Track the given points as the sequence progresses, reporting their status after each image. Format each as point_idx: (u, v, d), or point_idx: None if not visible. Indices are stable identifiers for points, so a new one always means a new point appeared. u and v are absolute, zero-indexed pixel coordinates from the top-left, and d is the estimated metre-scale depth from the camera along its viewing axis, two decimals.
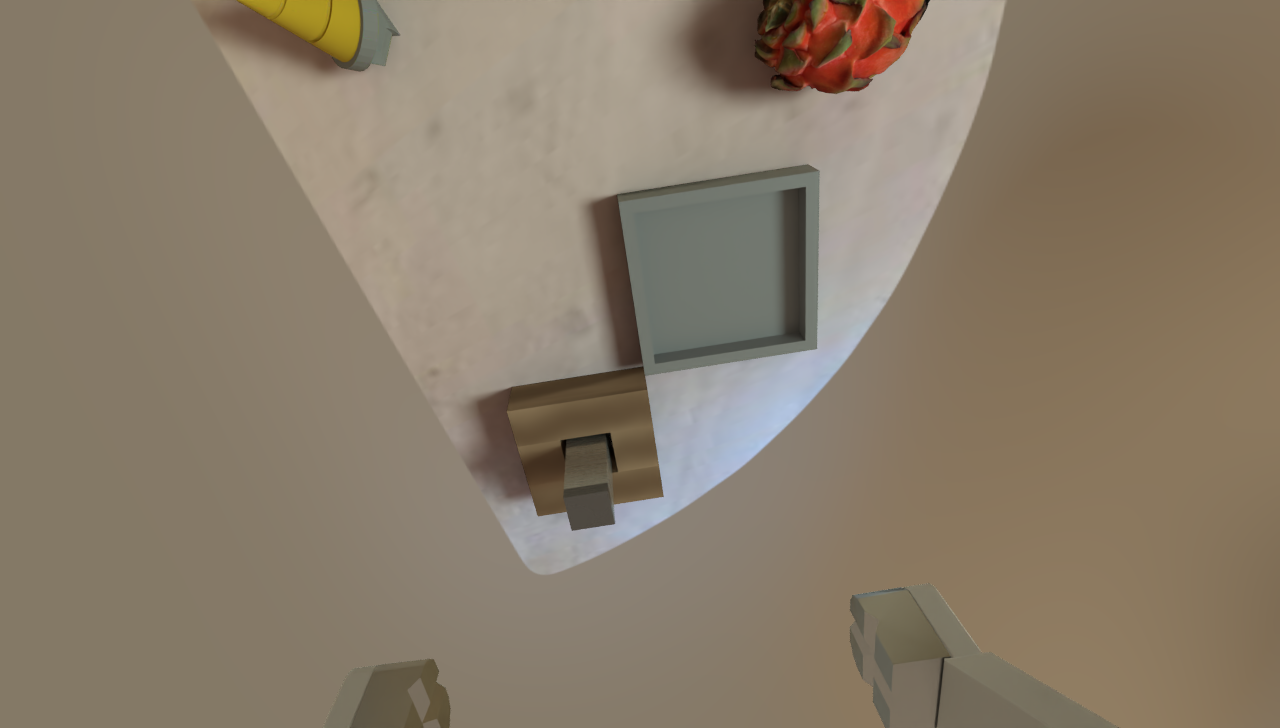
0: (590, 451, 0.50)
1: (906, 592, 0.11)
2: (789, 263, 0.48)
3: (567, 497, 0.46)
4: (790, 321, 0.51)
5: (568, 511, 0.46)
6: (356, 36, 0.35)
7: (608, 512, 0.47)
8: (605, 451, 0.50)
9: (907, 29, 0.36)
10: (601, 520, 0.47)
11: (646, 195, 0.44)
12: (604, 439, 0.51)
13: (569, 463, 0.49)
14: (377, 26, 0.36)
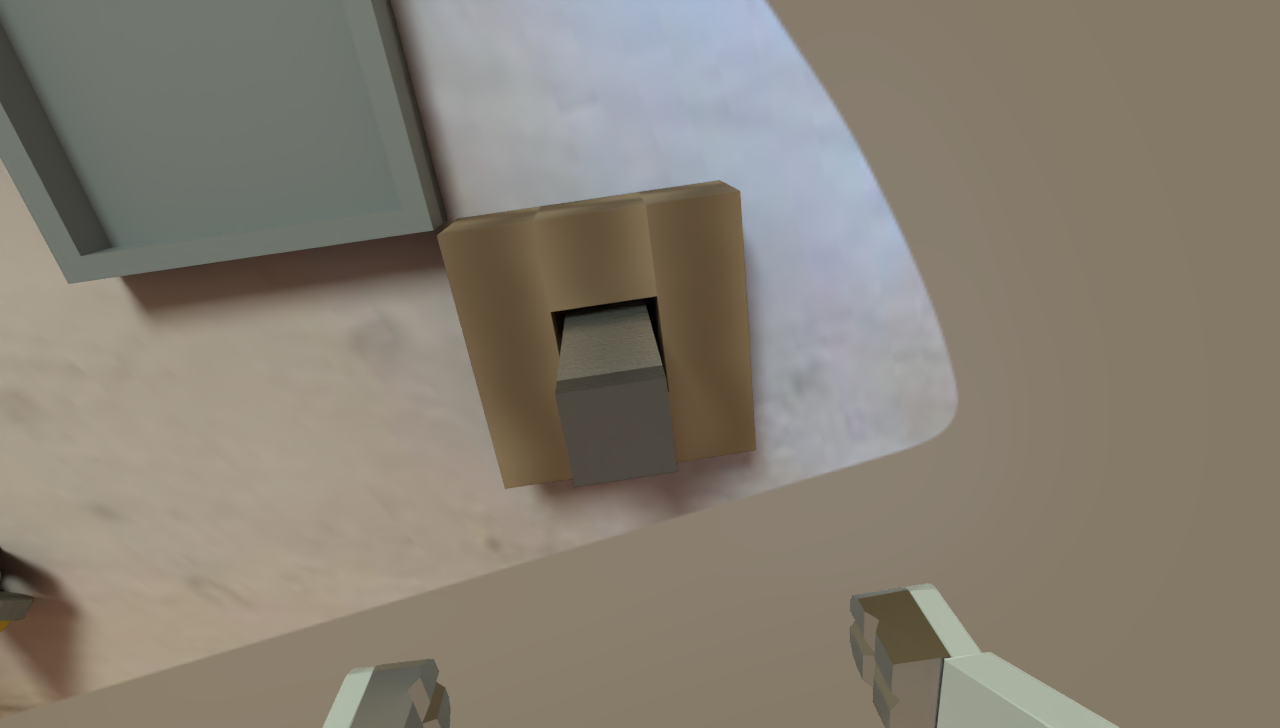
0: None
1: (906, 592, 0.11)
2: None
3: (574, 478, 0.20)
4: None
5: (616, 477, 0.20)
6: None
7: (625, 393, 0.18)
8: (564, 338, 0.23)
9: None
10: (651, 408, 0.19)
11: None
12: (564, 325, 0.24)
13: None
14: None
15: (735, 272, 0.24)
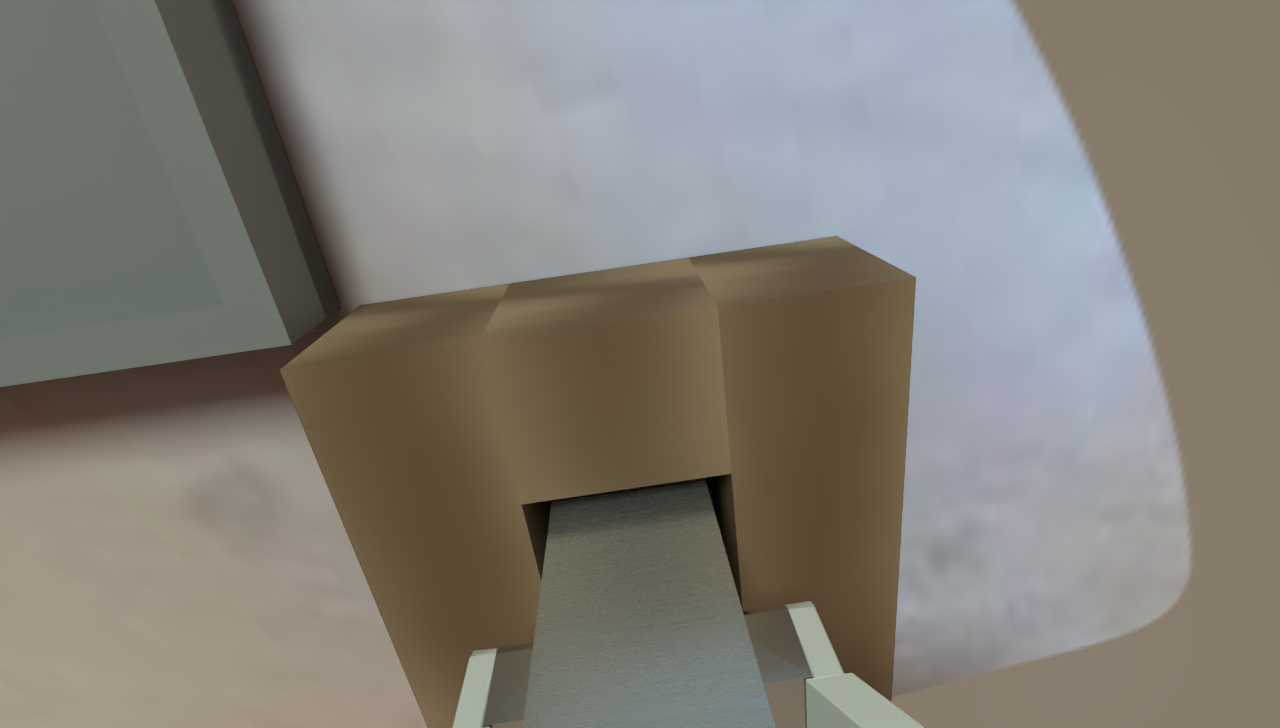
0: None
1: (784, 610, 0.11)
2: None
3: None
4: None
5: None
6: None
7: None
8: (544, 587, 0.11)
9: None
10: None
11: None
12: None
13: None
14: None
15: (888, 430, 0.12)
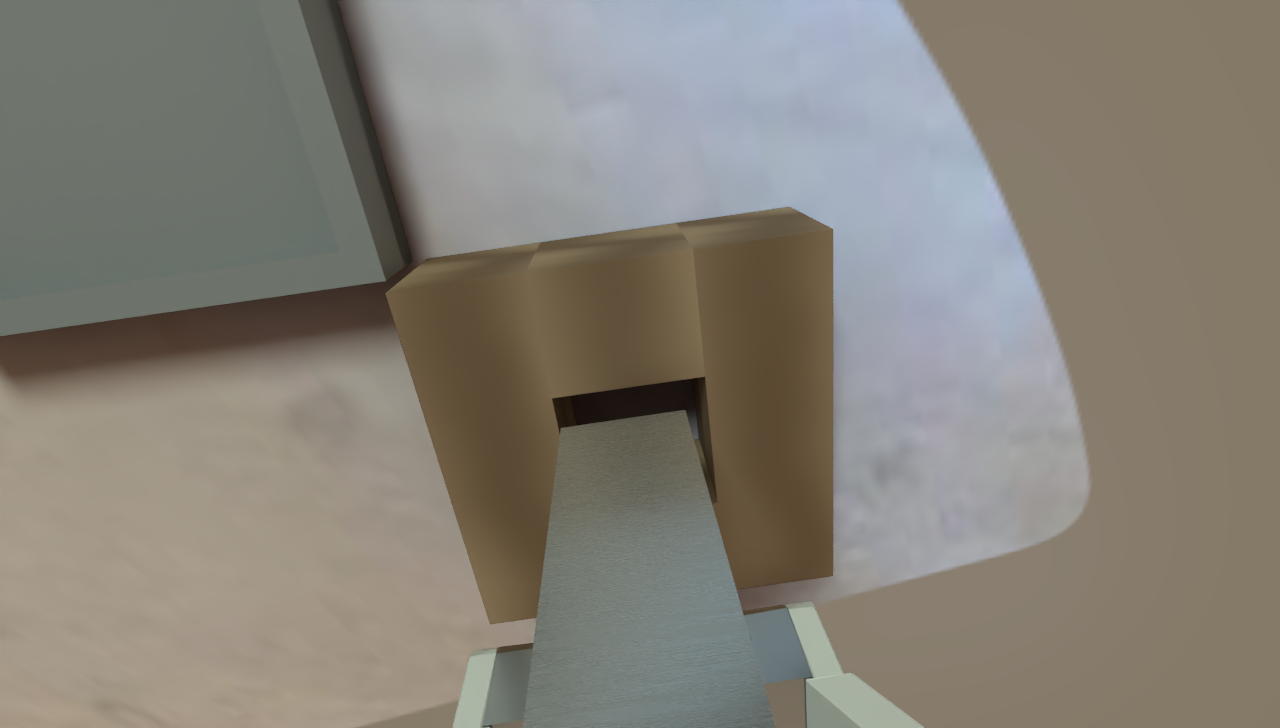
0: None
1: (784, 610, 0.11)
2: None
3: None
4: None
5: None
6: None
7: None
8: (544, 587, 0.11)
9: None
10: None
11: None
12: None
13: None
14: None
15: (819, 344, 0.17)
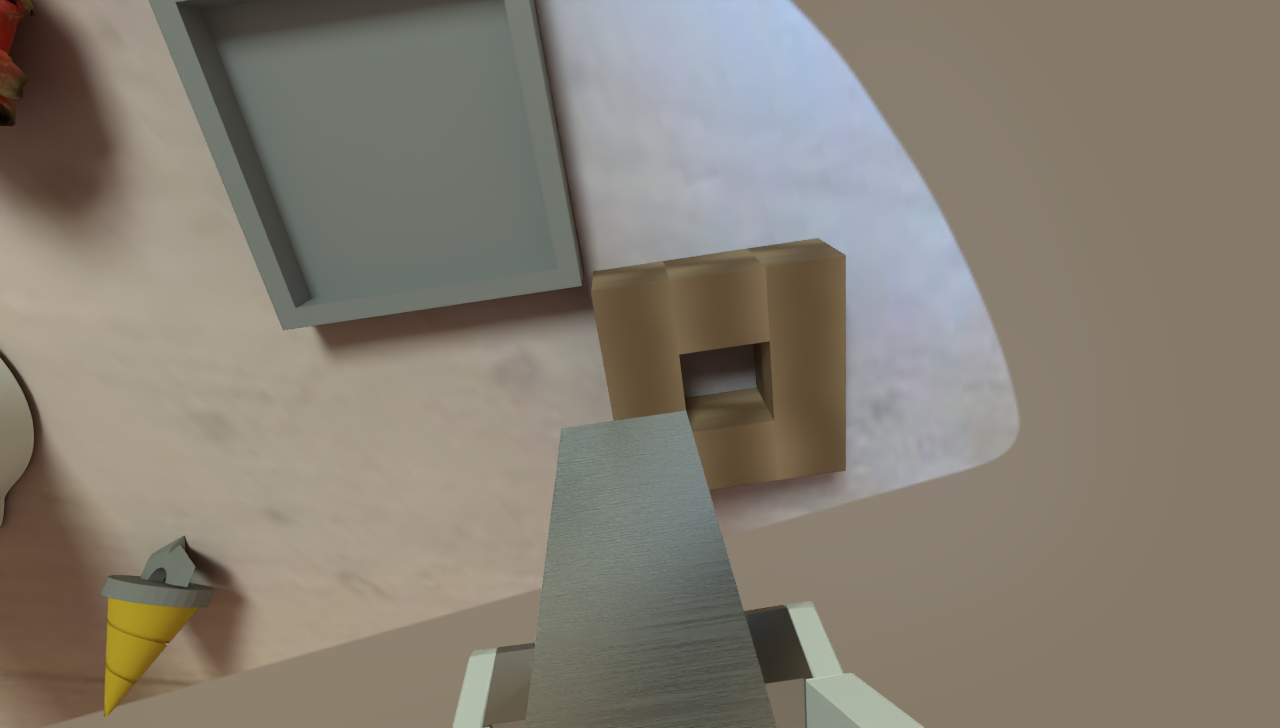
0: None
1: (784, 610, 0.11)
2: (358, 7, 0.25)
3: None
4: None
5: None
6: (141, 606, 0.33)
7: None
8: (545, 588, 0.11)
9: None
10: None
11: None
12: None
13: None
14: (130, 584, 0.33)
15: (837, 321, 0.29)
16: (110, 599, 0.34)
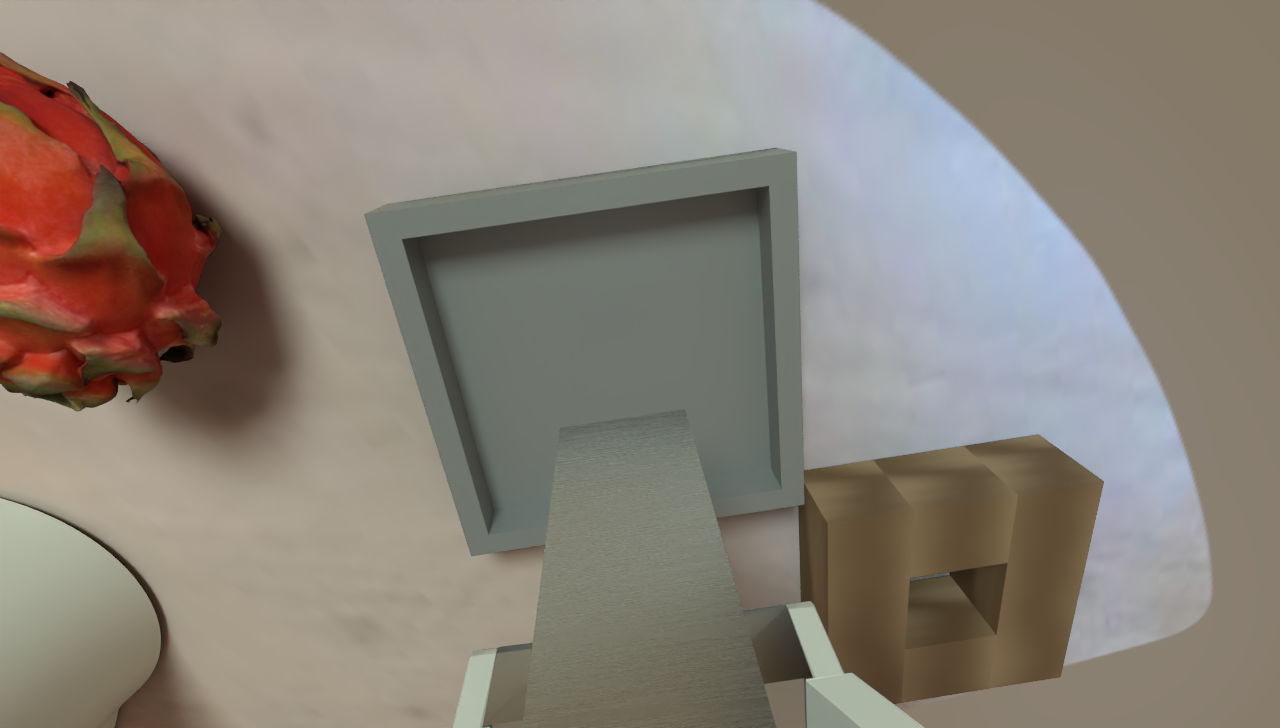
0: None
1: (784, 610, 0.11)
2: (591, 226, 0.22)
3: None
4: (728, 205, 0.23)
5: None
6: None
7: None
8: (543, 587, 0.11)
9: None
10: None
11: None
12: None
13: None
14: None
15: (1082, 542, 0.26)
16: None
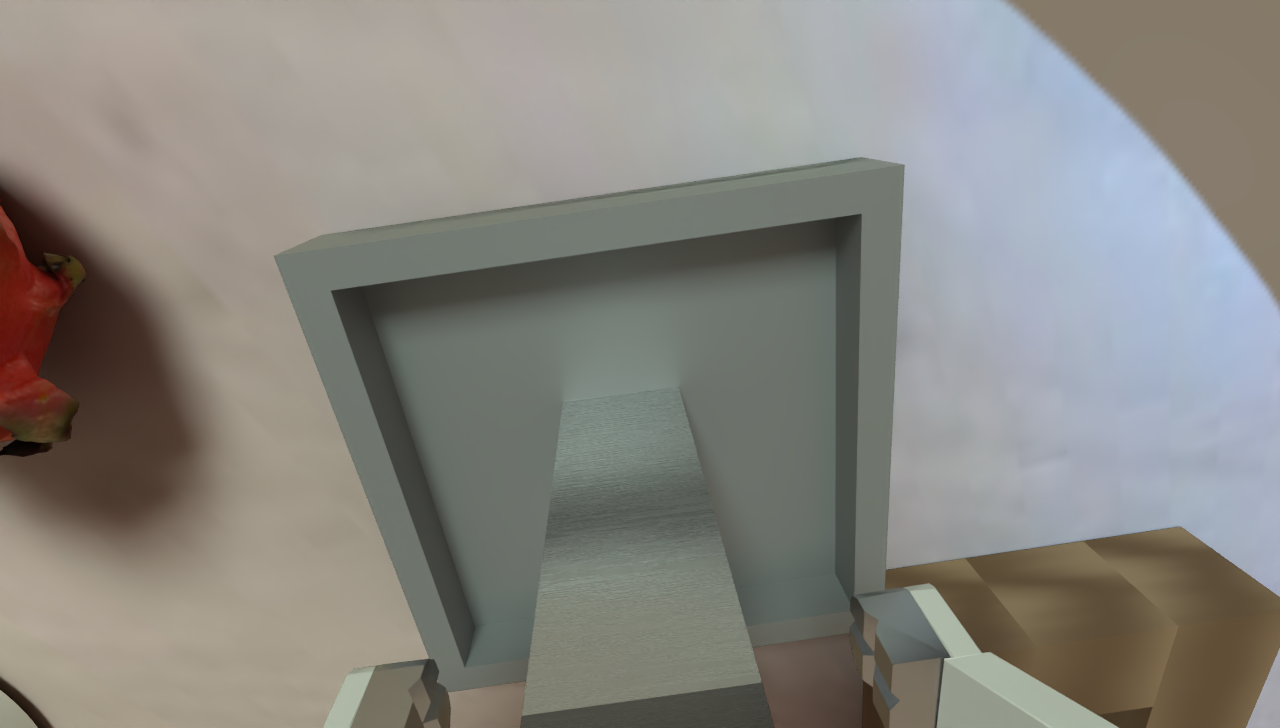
0: None
1: (906, 592, 0.11)
2: (602, 267, 0.16)
3: None
4: (794, 238, 0.16)
5: None
6: None
7: None
8: None
9: None
10: None
11: None
12: None
13: None
14: None
15: (1254, 681, 0.20)
16: None
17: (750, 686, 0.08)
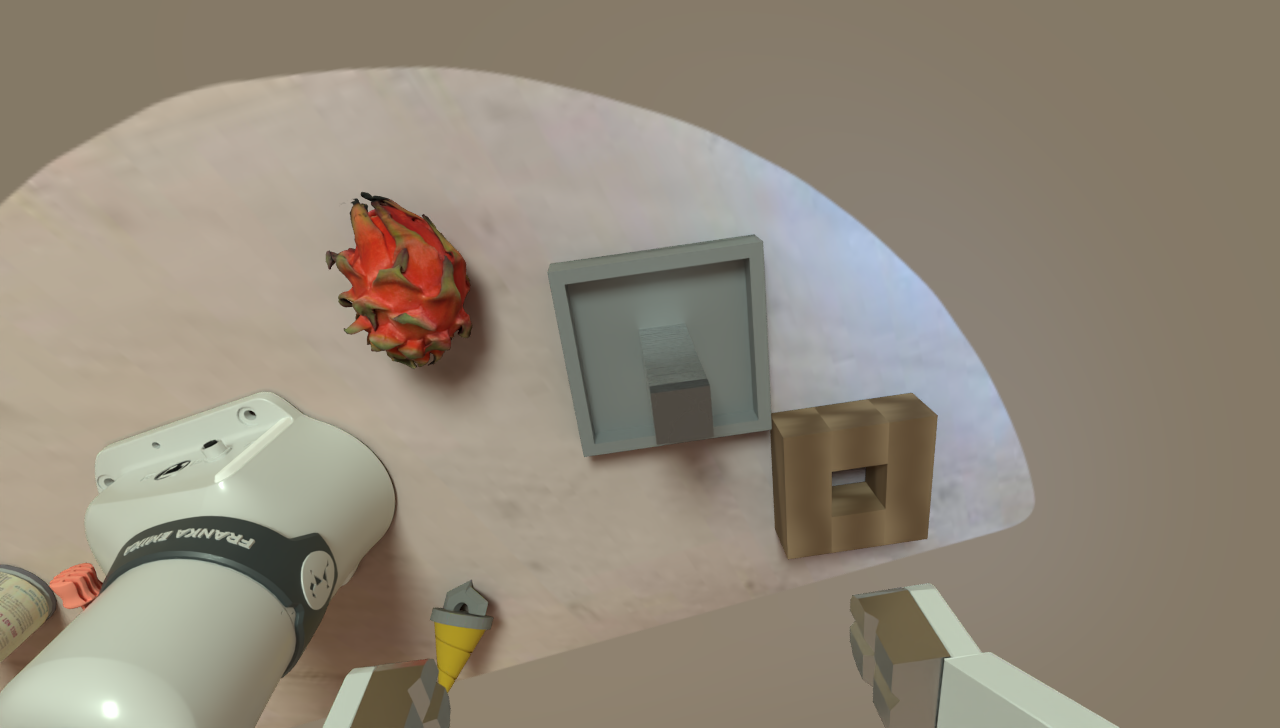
0: (646, 377, 0.40)
1: (906, 592, 0.11)
2: (656, 276, 0.43)
3: (657, 440, 0.35)
4: (729, 265, 0.43)
5: (680, 440, 0.35)
6: (464, 629, 0.50)
7: (687, 393, 0.34)
8: (645, 360, 0.39)
9: (391, 235, 0.36)
10: (701, 402, 0.35)
11: None
12: (642, 351, 0.40)
13: None
14: (457, 615, 0.50)
15: (929, 452, 0.46)
16: (441, 625, 0.50)
17: (704, 379, 0.35)
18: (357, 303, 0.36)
